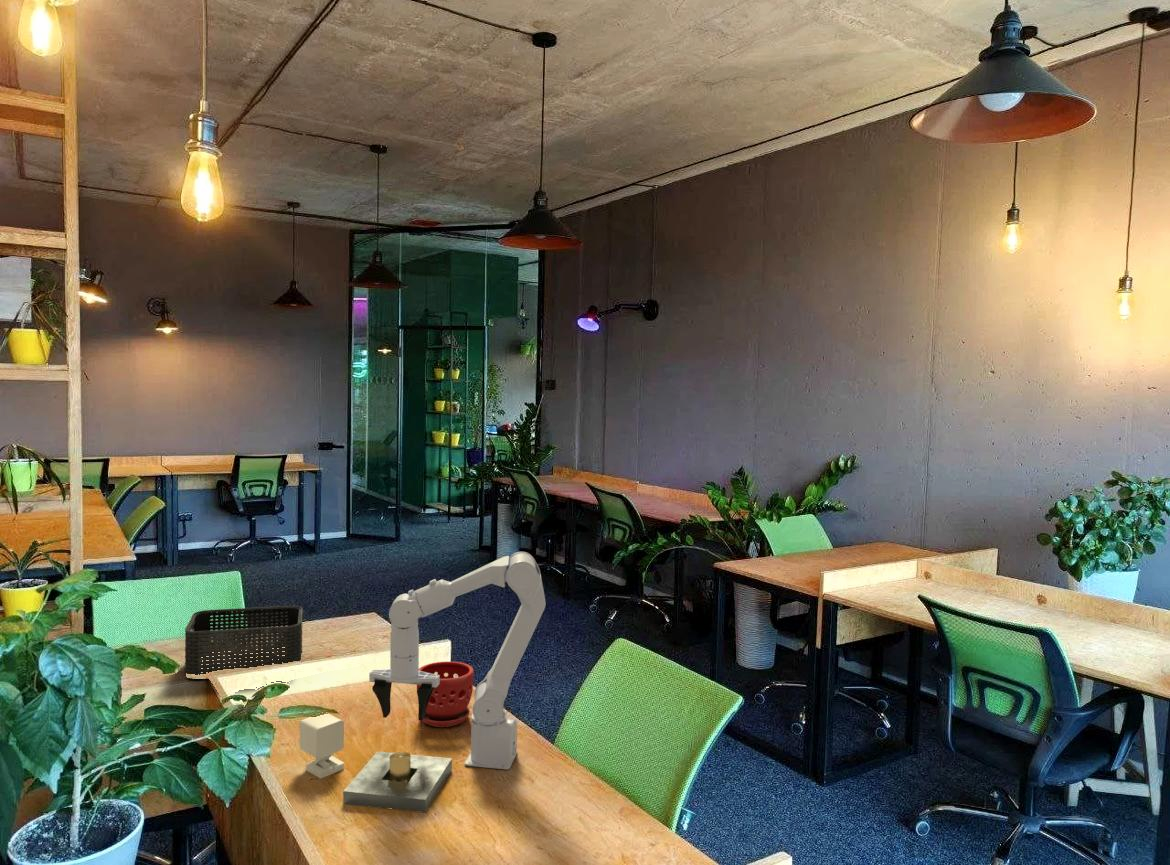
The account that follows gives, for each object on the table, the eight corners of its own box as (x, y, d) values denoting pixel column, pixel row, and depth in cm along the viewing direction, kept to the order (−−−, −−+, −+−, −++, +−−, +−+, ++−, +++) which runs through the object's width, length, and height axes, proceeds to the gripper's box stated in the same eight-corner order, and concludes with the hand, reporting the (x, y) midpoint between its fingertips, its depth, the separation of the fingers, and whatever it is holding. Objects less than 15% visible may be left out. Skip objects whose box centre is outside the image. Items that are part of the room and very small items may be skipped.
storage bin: (303, 648, 232) (302, 603, 231) (301, 673, 214) (301, 624, 213) (194, 657, 224) (193, 610, 223) (182, 683, 205) (182, 632, 204)
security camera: (326, 757, 169) (326, 710, 168) (346, 768, 164) (346, 720, 163) (299, 768, 164) (299, 720, 163) (318, 779, 159) (318, 730, 158)
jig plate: (451, 770, 164) (451, 758, 164) (425, 812, 148) (425, 799, 148) (377, 763, 166) (377, 751, 166) (343, 803, 151) (343, 791, 150)
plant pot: (481, 724, 185) (481, 674, 185) (425, 735, 179) (426, 683, 178) (462, 703, 197) (462, 655, 196) (409, 713, 191) (409, 664, 190)
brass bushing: (410, 780, 160) (410, 751, 159) (410, 790, 156) (410, 760, 155) (389, 781, 159) (389, 752, 159) (389, 792, 155) (389, 762, 155)
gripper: (444, 649, 169) (443, 711, 170) (378, 644, 171) (378, 706, 172) (433, 661, 162) (432, 726, 163) (365, 655, 164) (365, 720, 165)
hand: (404, 717), depth 167 cm, fingers open, 7 cm apart
